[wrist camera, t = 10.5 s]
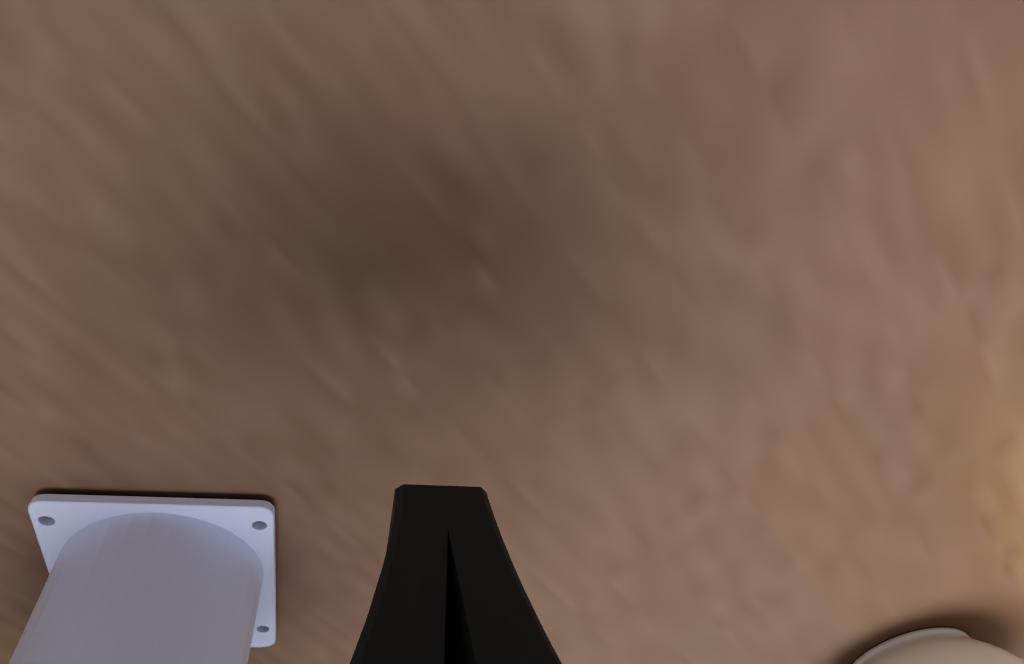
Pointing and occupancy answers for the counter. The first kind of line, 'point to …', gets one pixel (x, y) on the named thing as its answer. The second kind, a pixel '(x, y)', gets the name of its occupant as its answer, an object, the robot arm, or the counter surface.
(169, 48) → the counter surface
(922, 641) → the lidded bowl
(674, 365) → the counter surface
